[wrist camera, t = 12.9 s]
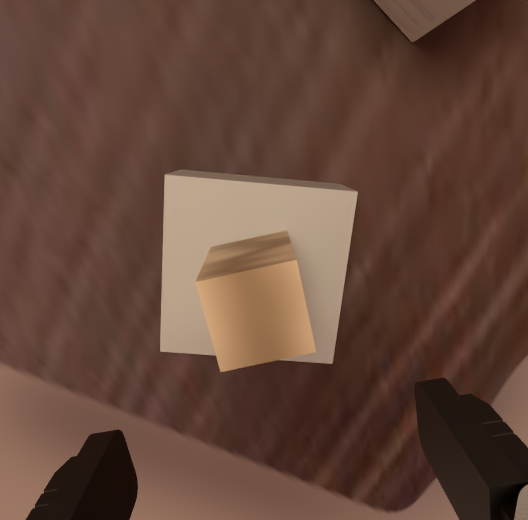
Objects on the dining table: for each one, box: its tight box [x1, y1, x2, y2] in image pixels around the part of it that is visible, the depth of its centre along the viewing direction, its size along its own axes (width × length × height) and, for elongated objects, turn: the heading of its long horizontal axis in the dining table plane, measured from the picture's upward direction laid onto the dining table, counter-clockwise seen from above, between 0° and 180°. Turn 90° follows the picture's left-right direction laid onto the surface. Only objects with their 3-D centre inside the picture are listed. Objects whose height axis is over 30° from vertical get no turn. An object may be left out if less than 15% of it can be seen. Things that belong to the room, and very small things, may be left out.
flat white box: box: [160, 170, 358, 364], centre depth 30 cm, size 12×12×6 cm
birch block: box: [195, 230, 316, 372], centre depth 24 cm, size 5×5×7 cm
